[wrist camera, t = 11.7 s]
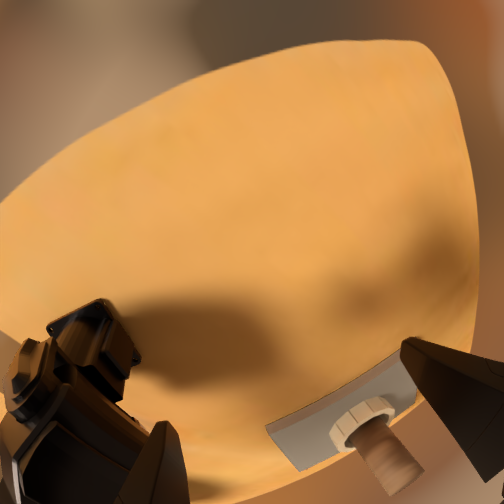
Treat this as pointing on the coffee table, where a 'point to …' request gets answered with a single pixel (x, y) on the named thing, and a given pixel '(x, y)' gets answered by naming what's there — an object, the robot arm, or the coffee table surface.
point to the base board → (344, 414)
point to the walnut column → (385, 455)
